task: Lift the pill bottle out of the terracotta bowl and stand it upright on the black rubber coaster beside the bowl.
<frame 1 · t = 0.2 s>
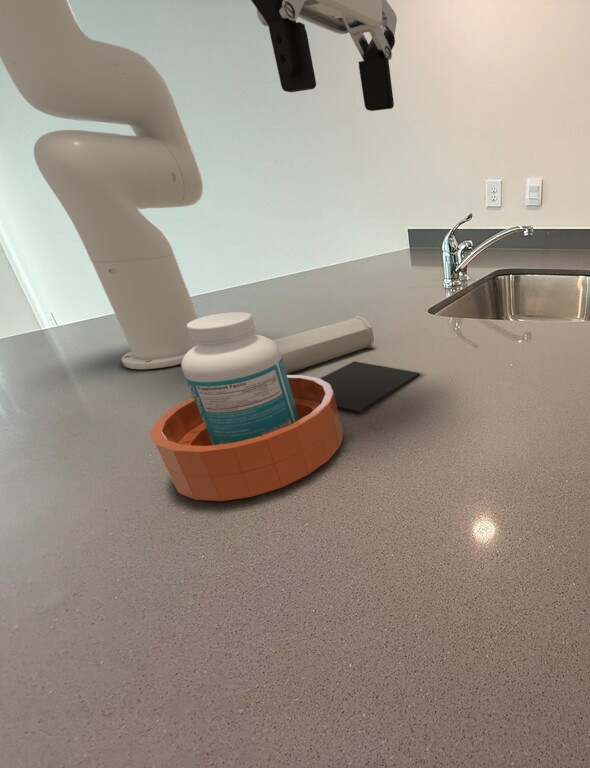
hand: (344, 100, 37), 31 cm above the countertop, tool pointing down, fingers open, 9 cm apart
coaster: (357, 385, 55), on the countertop
bowl: (266, 454, 41), on the countertop
tube: (294, 370, 61), on the countertop
pill bottle: (265, 452, 40), resting on bowl
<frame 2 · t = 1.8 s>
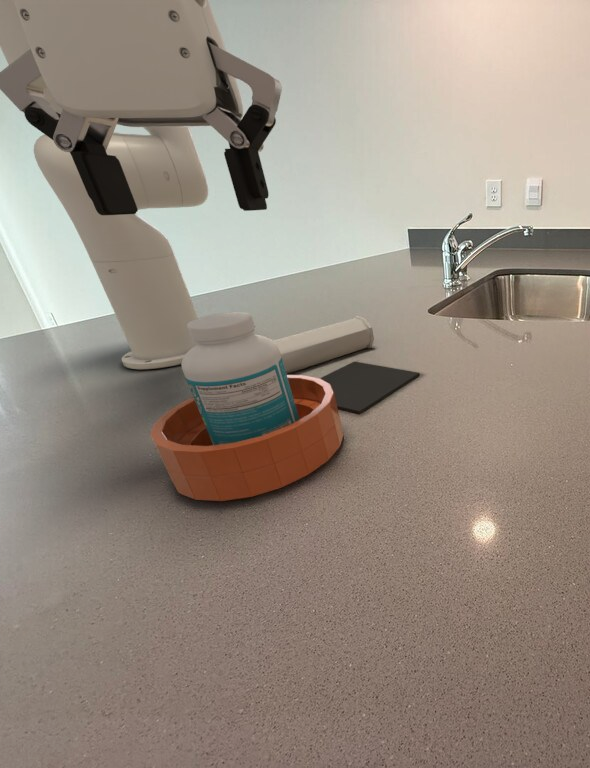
hand: (188, 212, 31), 22 cm above the countertop, tool pointing down, fingers open, 9 cm apart
nothing on the countertop moved.
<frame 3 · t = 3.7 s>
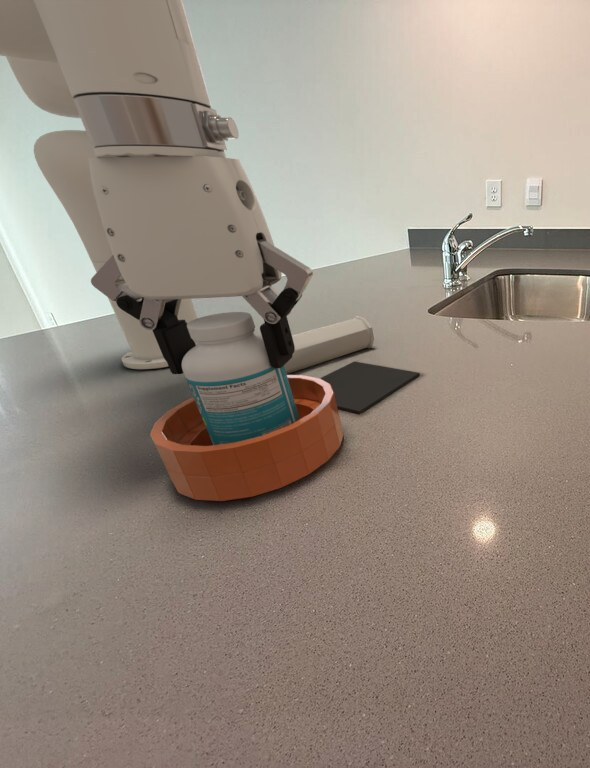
hand: (235, 364, 36), 10 cm above the countertop, tool pointing down, fingers closed on pill bottle, 7 cm apart
pill bottle: (265, 452, 40), resting on bowl, touching gripper
everything else where it was.
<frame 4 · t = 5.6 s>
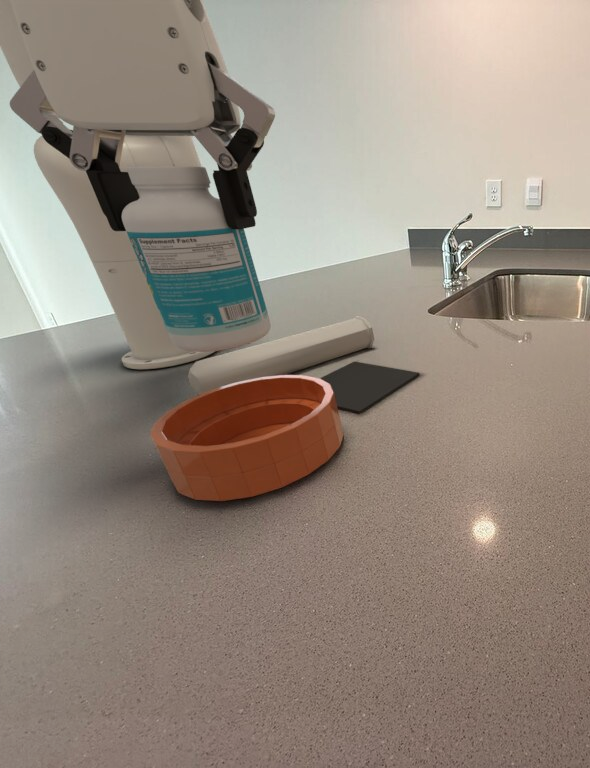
hand: (188, 227, 32), 21 cm above the countertop, tool pointing down, fingers closed on pill bottle, 7 cm apart
pill bottle: (226, 341, 36), point 12 cm above the countertop, touching gripper
everything else where it was.
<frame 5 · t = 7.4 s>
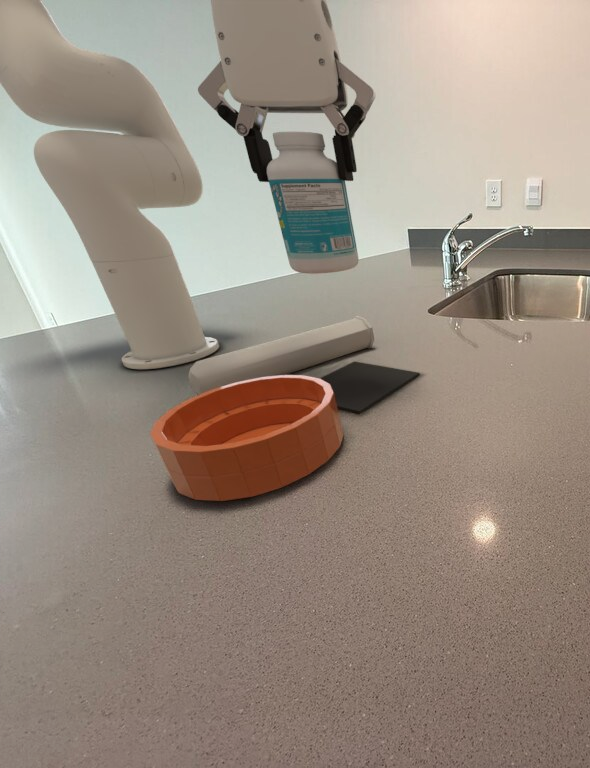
hand: (307, 179, 43), 25 cm above the countertop, tool pointing down, fingers closed on pill bottle, 7 cm apart
pill bottle: (326, 270, 47), point 15 cm above the countertop, touching gripper
everything else where it was.
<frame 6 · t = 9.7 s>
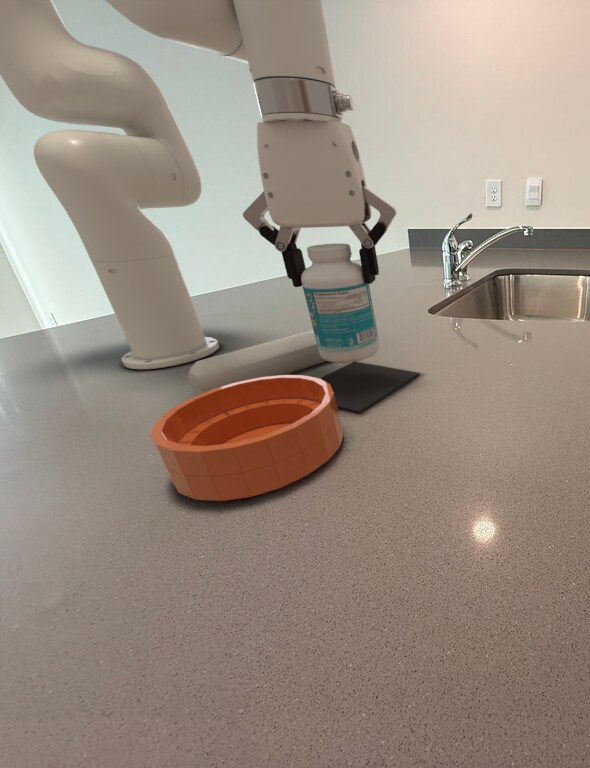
hand: (336, 282, 49), 14 cm above the countertop, tool pointing down, fingers closed on pill bottle, 7 cm apart
pill bottle: (351, 355, 53), point 4 cm above the countertop, touching gripper
everything else where it was.
when the fingers open (10 cm above the countertop, at t = 11.4 s): pill bottle stays where it is, resting on coaster.
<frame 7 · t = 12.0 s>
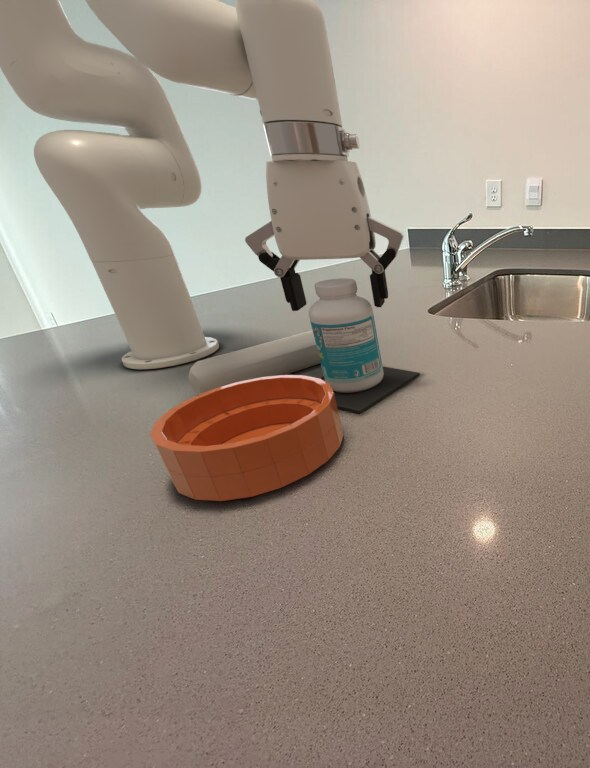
hand: (340, 306, 50), 11 cm above the countertop, tool pointing down, fingers open, 9 cm apart
pill bottle: (356, 384, 55), resting on coaster
everything else where it was.
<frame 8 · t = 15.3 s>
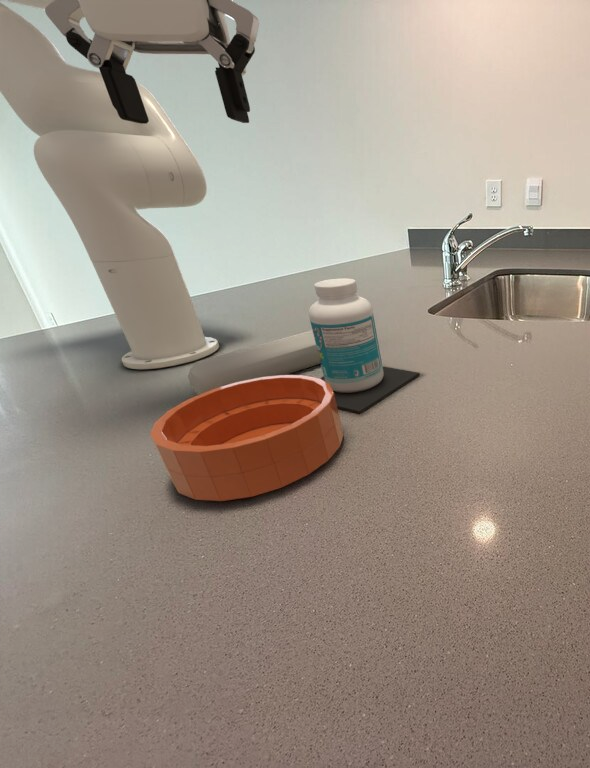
hand: (187, 121, 40), 30 cm above the countertop, tool pointing down, fingers open, 9 cm apart
nothing on the countertop moved.
at the end: pill bottle inside the target area on the coaster (0.1 cm from its centre), point 0.2 cm above the coaster's base; pill bottle tilted 0°; the gripper is holding nothing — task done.
